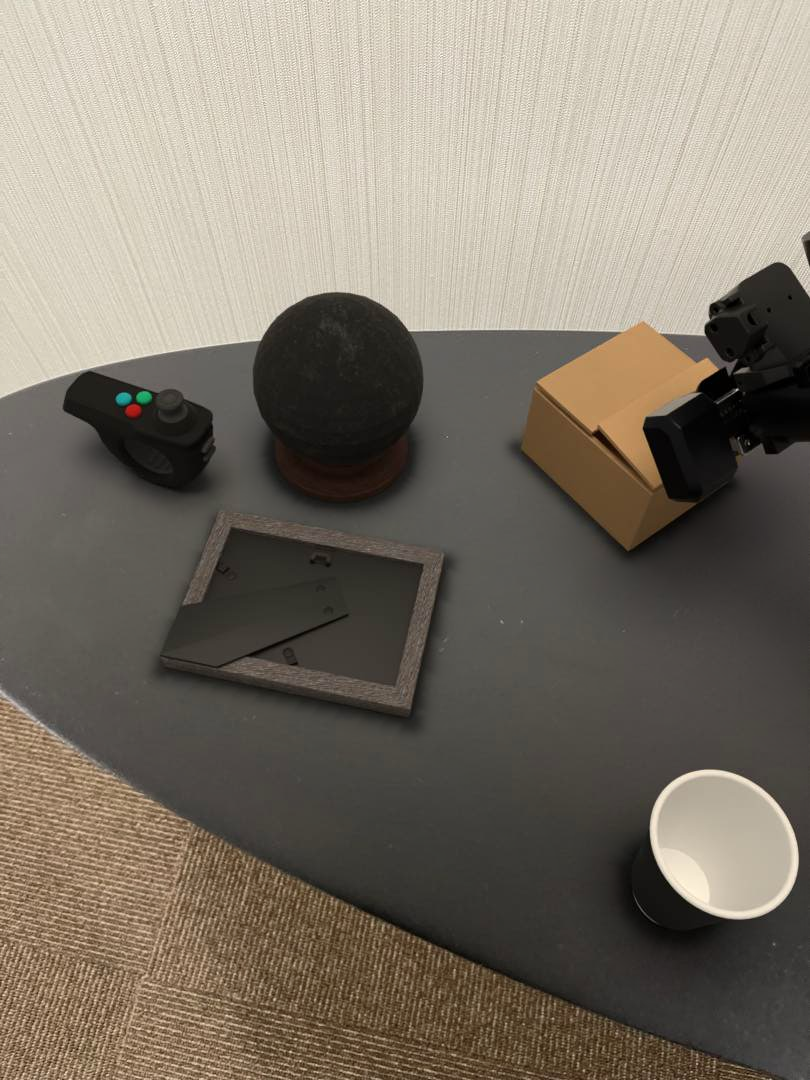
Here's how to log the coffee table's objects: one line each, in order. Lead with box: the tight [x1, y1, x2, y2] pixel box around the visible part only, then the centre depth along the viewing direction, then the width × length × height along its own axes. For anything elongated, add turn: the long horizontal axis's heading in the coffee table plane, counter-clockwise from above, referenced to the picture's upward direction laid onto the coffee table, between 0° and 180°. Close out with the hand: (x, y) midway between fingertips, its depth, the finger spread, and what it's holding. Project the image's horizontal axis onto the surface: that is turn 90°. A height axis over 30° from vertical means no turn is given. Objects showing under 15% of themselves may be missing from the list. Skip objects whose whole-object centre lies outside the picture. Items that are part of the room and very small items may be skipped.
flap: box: [597, 357, 720, 490], centre depth 69 cm, size 6×12×1 cm, turn 127°
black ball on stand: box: [252, 291, 424, 504], centre depth 71 cm, size 13×13×15 cm
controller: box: [62, 370, 217, 487], centre depth 71 cm, size 4×12×10 cm, turn 67°
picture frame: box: [159, 508, 446, 719], centre depth 67 cm, size 13×2×18 cm
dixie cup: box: [630, 769, 800, 932], centre depth 53 cm, size 8×8×11 cm
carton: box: [520, 320, 743, 552], centre depth 74 cm, size 13×12×8 cm
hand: (674, 407), depth 68 cm, fingers closed
